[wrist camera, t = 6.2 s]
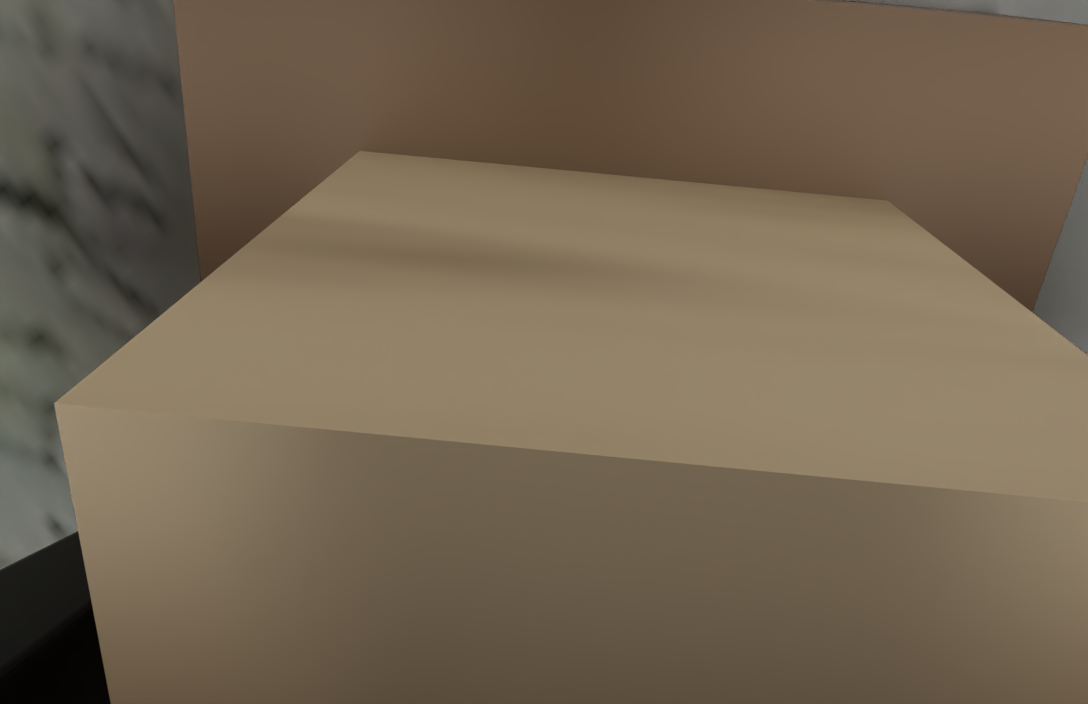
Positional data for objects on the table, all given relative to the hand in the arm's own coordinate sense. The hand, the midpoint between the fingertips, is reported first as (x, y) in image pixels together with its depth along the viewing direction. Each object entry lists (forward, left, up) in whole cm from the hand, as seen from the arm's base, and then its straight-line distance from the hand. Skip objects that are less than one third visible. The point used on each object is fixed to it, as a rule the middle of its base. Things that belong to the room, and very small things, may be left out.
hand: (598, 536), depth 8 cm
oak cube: (0, 0, -3) cm, 3 cm away
